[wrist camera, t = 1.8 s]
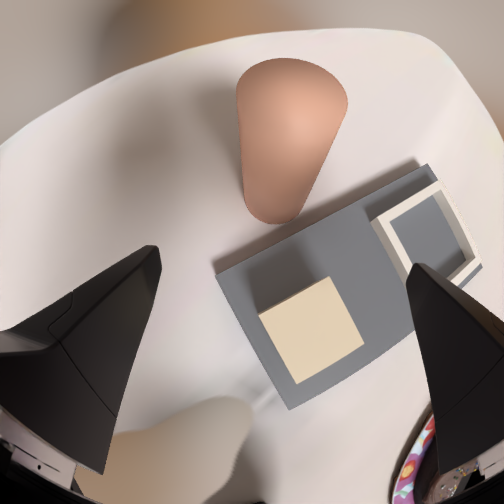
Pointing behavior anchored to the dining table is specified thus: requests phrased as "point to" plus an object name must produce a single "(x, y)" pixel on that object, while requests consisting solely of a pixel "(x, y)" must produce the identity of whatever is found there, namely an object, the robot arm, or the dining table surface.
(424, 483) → the chocolate cake
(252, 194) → the pillar
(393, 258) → the base plate
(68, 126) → the dining table surface
